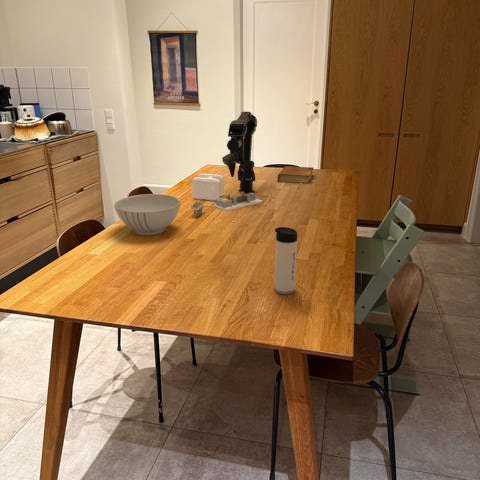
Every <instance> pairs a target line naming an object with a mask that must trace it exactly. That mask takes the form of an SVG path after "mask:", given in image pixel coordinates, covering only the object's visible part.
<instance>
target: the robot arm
mask: <svg viewBox="0 0 480 480" xmlns="http://www.w3.org/2000/svg"><path fill="white" fill-rule="evenodd" d="M228 126H229V127H228V133H227V137H229V138H230V139H229V140H228V142H226V147H227V150H228V151H229V153H227V154H225V155H224V156H222V157H221V159H222V163H223V165H225V166H226V167H227V168H228V171H229V173H230V177H231V178H234V176H235V173H236V167H237V165H238V170H237V182H238V181H239V182H240V183H239V189H238V192H239V193H240V192H244V194H248V193H253V192H255V190H254V189H253V185H254V182H256V173H255V171H254V168H255V162H254V161H253V160H252V147H253V145H252V144H253V135H254V134H255V132H256V130H257V127H258V119H257V117H256V116H255V115H254V114H252V112H251V111H241V112H240V115H239V116H238V118H237V119H235V120H231V122H230V123H229V125H228Z"/></svg>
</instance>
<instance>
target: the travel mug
mask: <svg viewBox="0 0 480 480" xmlns="http://www.w3.org/2000/svg"><path fill="white" fill-rule="evenodd" d="M274 232H275V233H276V234H275V235H276V237H275V254H274V255H275V256H274V257H275V259H274V263H275V264H274V289H273V290H274V292H275V293H277V294H279V295H291V294H294V292H295V290H296V277H297V275H296V271H297V253H298V231H297V230H296V229H293V228H290V227H286V226H279V227H275V228H274Z"/></svg>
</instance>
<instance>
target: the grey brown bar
mask: <svg viewBox="0 0 480 480" xmlns="http://www.w3.org/2000/svg"><path fill="white" fill-rule="evenodd" d="M247 194H251V201H252V200H256V199H257V194H256V193H253V192H249V193H247ZM247 194H246V195H244V196H241V197H240V196H236V197H237V202H241V201H245V200H247ZM220 200H223V201H227V200H232V203H233V197H232V198H231V197H230V199H226V197H224V199H220Z"/></svg>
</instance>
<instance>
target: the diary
mask: <svg viewBox="0 0 480 480" xmlns="http://www.w3.org/2000/svg"><path fill="white" fill-rule="evenodd" d="M313 171H314V166H313V167H310V166H292V165H291V166H290V165H289V166H288V165H285V166H284V167H282V169H281V171H280V172H279V173H278V174H277V182H278V183H285V184H300V183H303V184H302V185H305V184H306V185H309V184H310V183H311V181H312V179H313V177H314V174H313Z"/></svg>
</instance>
